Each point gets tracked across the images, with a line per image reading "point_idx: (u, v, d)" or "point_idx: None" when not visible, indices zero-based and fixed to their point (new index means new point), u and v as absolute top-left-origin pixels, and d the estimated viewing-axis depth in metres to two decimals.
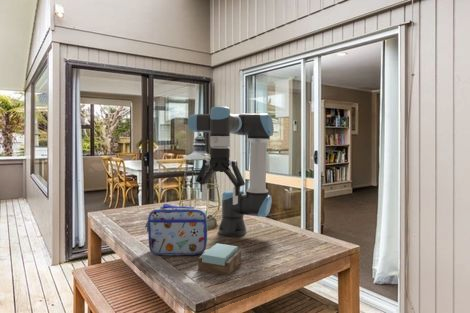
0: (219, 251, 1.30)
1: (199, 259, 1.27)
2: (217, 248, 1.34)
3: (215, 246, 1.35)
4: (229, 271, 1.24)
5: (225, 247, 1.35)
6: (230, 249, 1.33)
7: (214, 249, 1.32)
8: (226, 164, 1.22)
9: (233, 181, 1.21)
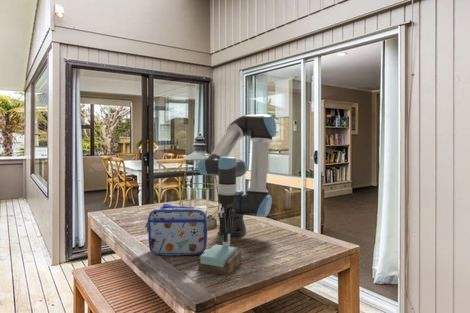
0: (217, 252, 1.28)
1: (199, 259, 1.27)
2: (215, 249, 1.32)
3: (214, 247, 1.34)
4: (229, 271, 1.24)
5: (224, 248, 1.33)
6: (229, 250, 1.31)
7: (212, 250, 1.31)
8: None
9: None
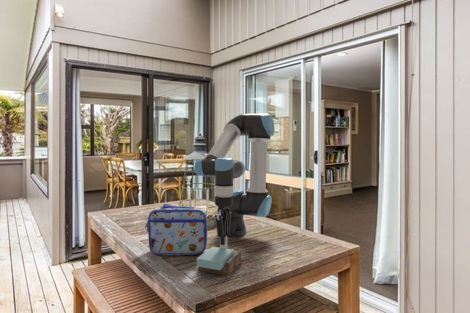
0: (214, 255, 1.26)
1: None
2: (212, 251, 1.29)
3: (211, 250, 1.31)
4: (229, 271, 1.24)
5: (221, 250, 1.31)
6: (226, 252, 1.29)
7: (209, 253, 1.28)
8: None
9: None
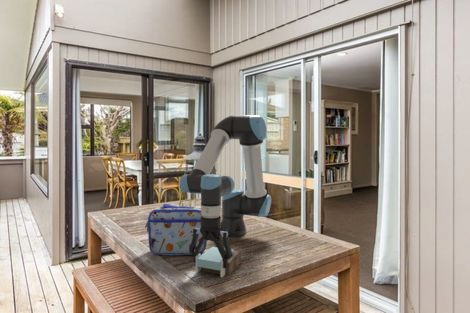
0: (214, 255, 1.25)
1: None
2: (212, 251, 1.29)
3: (211, 250, 1.31)
4: (229, 271, 1.24)
5: None
6: None
7: (209, 253, 1.28)
8: (217, 234, 1.20)
9: (221, 253, 1.19)
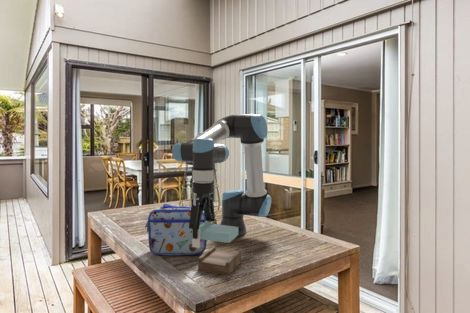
0: (211, 227, 1.16)
1: (199, 259, 1.27)
2: (222, 227, 1.17)
3: (226, 226, 1.18)
4: (229, 271, 1.24)
5: (225, 229, 1.14)
6: (219, 231, 1.11)
7: (218, 226, 1.18)
8: None
9: None
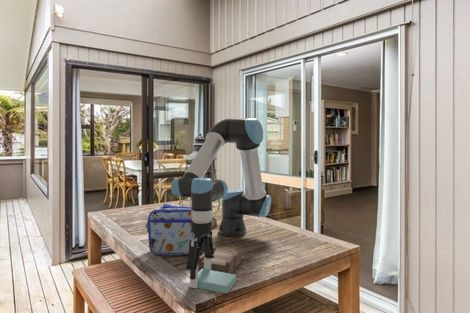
0: (209, 276, 1.17)
1: (199, 259, 1.27)
2: (220, 275, 1.18)
3: (225, 274, 1.18)
4: (229, 271, 1.24)
5: (223, 279, 1.14)
6: (216, 282, 1.12)
7: (216, 273, 1.19)
8: None
9: None
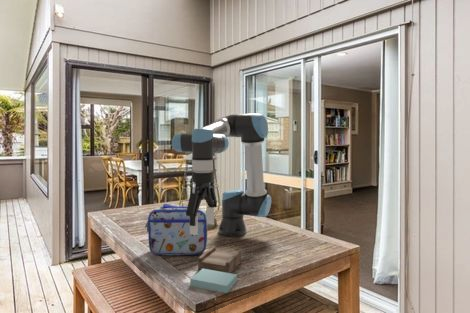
0: (209, 276, 1.17)
1: (199, 259, 1.27)
2: (220, 274, 1.18)
3: (225, 274, 1.18)
4: (229, 271, 1.24)
5: (223, 279, 1.14)
6: (217, 281, 1.12)
7: (217, 273, 1.19)
8: None
9: None
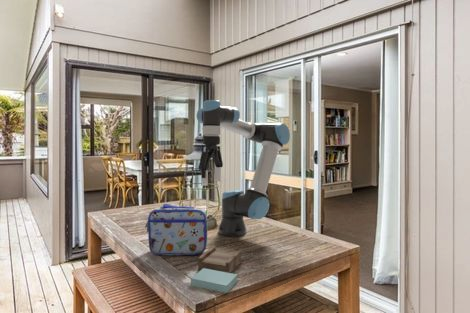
0: (210, 275, 1.17)
1: (199, 259, 1.27)
2: (221, 274, 1.18)
3: (225, 274, 1.19)
4: (229, 271, 1.24)
5: (223, 278, 1.15)
6: (217, 281, 1.12)
7: (217, 273, 1.19)
8: None
9: None
